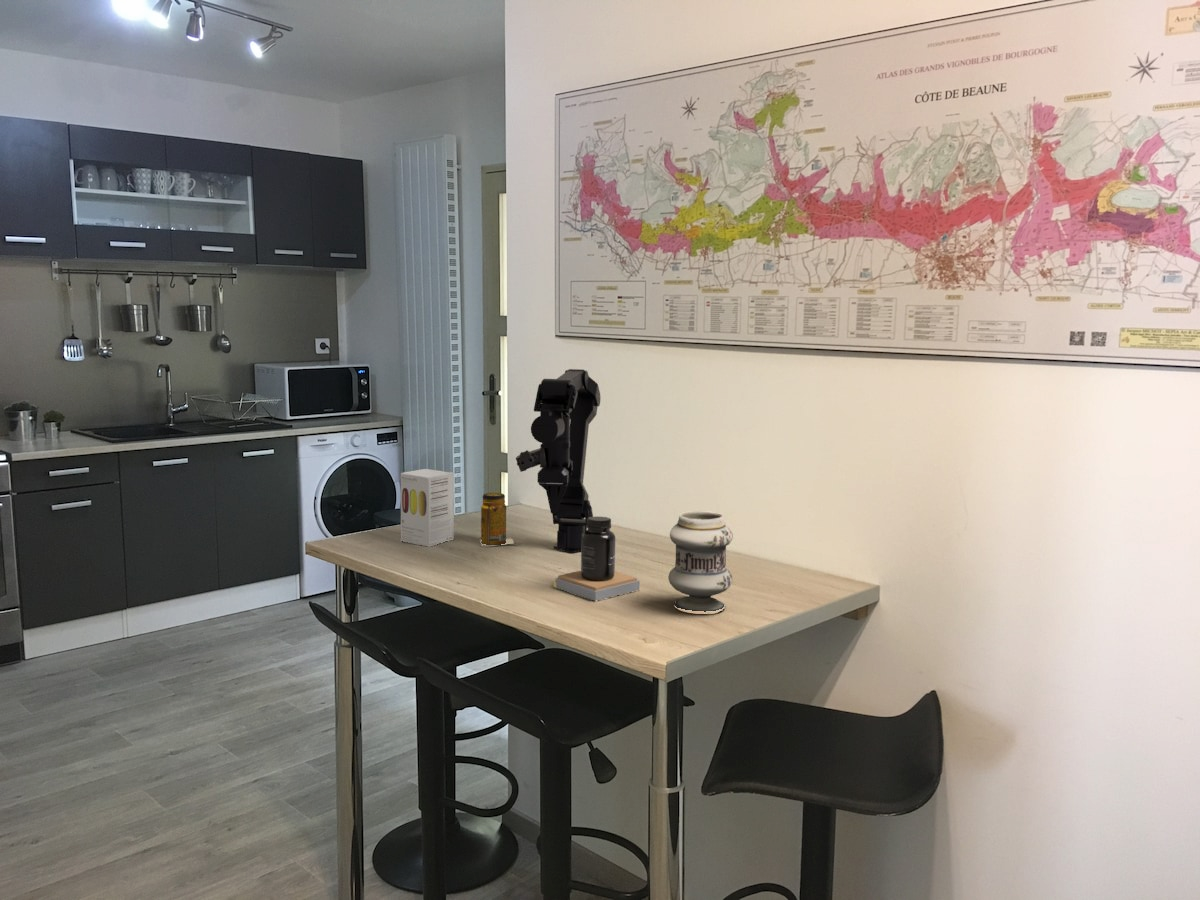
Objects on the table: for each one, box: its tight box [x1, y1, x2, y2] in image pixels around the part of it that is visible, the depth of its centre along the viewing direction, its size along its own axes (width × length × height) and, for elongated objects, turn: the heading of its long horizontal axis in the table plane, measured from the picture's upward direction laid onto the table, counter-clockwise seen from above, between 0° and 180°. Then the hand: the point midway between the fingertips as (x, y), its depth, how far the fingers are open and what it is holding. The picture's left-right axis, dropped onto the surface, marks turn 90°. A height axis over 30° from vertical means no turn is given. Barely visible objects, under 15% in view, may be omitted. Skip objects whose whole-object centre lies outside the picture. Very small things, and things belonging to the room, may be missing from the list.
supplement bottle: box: [580, 516, 617, 581], centre depth 187 cm, size 7×7×12 cm
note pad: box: [553, 570, 641, 602], centre depth 188 cm, size 12×12×3 cm
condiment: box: [480, 492, 518, 547], centre depth 225 cm, size 7×8×12 cm
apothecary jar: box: [667, 510, 734, 612], centre depth 177 cm, size 12×12×18 cm
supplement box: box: [400, 468, 455, 548], centre depth 225 cm, size 10×9×17 cm
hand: (555, 509), depth 202 cm, fingers open, 9 cm apart
